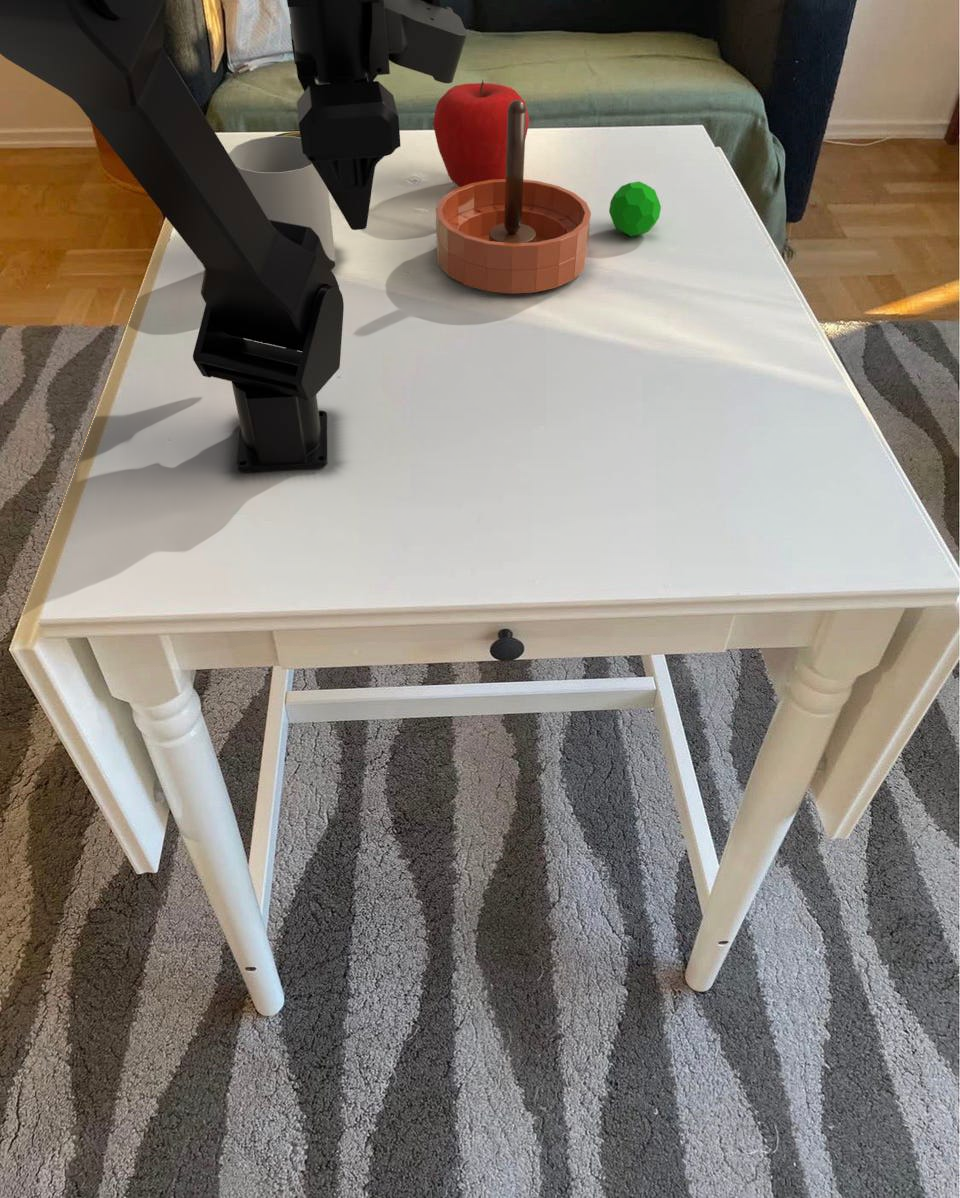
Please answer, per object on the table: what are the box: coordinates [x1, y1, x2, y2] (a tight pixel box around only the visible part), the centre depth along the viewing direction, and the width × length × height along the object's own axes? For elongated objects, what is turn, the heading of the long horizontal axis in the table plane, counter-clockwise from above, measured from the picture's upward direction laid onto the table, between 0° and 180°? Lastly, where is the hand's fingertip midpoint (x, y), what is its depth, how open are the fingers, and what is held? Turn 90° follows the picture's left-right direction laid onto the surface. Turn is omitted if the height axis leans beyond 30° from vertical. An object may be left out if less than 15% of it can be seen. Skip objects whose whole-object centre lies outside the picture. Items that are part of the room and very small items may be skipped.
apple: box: [432, 79, 530, 188], centre depth 99 cm, size 10×10×11 cm
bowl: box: [435, 179, 592, 294], centre depth 90 cm, size 14×14×5 cm
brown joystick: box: [489, 100, 536, 243], centre depth 86 cm, size 4×4×14 cm
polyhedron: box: [608, 181, 662, 237], centre depth 95 cm, size 5×5×5 cm
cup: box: [228, 135, 336, 263], centre depth 88 cm, size 8×8×10 cm
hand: (354, 198), depth 71 cm, fingers open, 9 cm apart
